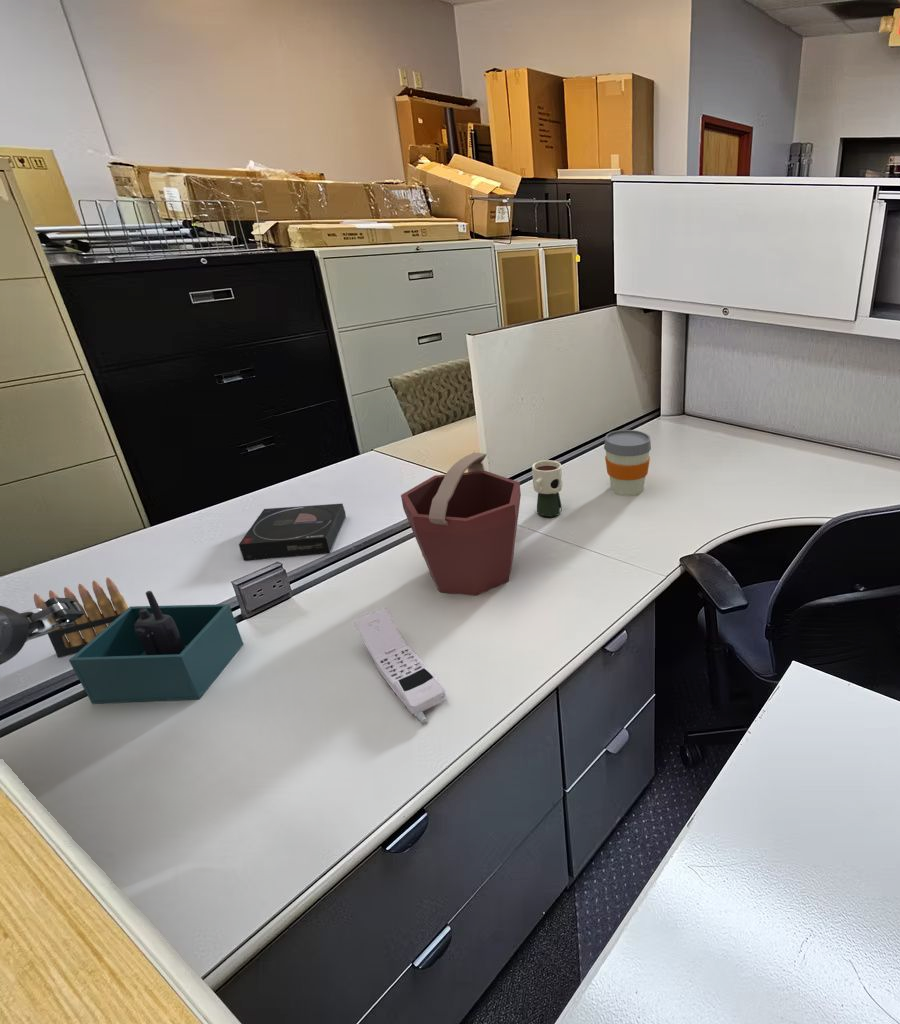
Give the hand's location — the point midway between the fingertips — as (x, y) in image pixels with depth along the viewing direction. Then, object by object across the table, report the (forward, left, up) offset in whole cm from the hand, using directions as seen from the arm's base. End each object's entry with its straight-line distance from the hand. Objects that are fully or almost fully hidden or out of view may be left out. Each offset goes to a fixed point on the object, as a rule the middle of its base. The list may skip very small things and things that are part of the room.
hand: (28, 636), depth 82 cm
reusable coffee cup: (+82, +81, -17) cm, 116 cm away
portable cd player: (+7, +56, -17) cm, 58 cm away
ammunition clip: (-10, +20, -17) cm, 28 cm away
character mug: (+62, +67, -17) cm, 92 cm away
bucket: (+49, +40, -17) cm, 65 cm away
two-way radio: (+6, +11, -16) cm, 21 cm away
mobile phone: (+43, +9, -17) cm, 47 cm away
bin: (+6, +12, -17) cm, 21 cm away
